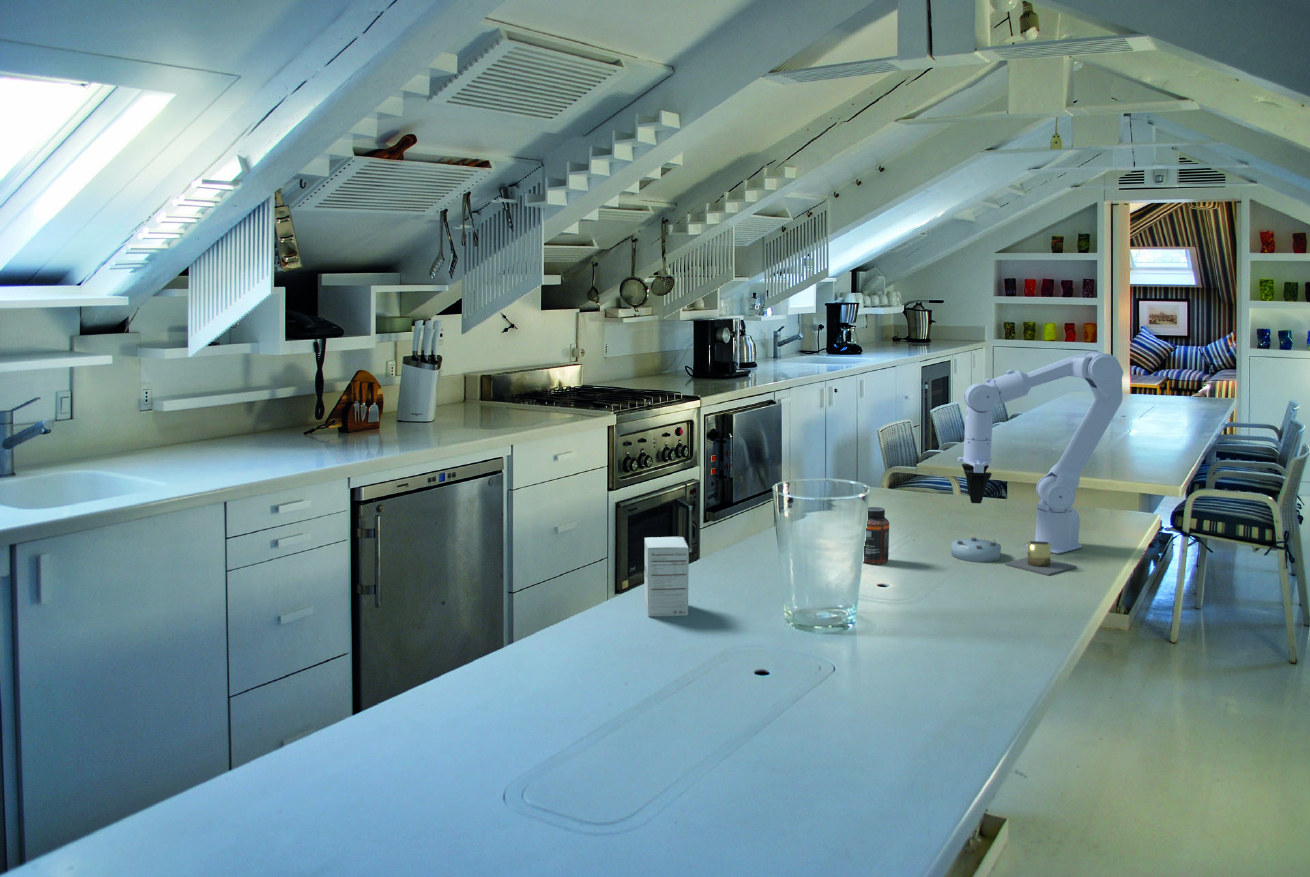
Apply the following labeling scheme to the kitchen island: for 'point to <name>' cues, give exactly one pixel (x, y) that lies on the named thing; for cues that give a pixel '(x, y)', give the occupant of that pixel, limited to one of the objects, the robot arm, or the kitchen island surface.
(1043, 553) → the knob
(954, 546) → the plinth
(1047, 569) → the mat
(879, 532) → the supplement bottle
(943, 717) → the kitchen island surface
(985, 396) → the robot arm
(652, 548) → the supplement box
